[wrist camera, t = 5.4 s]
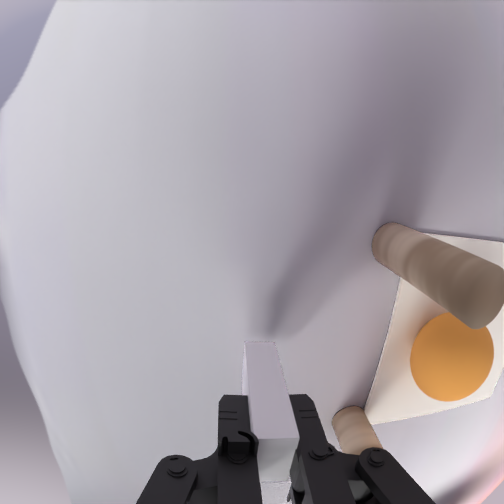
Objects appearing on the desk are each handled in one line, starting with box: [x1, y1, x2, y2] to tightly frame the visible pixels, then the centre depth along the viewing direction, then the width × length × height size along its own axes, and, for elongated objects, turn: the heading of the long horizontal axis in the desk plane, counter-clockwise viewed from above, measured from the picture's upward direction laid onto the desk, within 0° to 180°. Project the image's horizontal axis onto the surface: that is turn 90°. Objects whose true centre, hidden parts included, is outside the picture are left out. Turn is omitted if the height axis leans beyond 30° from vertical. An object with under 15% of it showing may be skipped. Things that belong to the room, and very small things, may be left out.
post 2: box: [372, 223, 504, 329], centre depth 13 cm, size 2×2×8 cm
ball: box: [410, 312, 494, 402], centre depth 16 cm, size 6×6×6 cm
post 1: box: [332, 406, 383, 455], centre depth 16 cm, size 2×2×8 cm
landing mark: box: [363, 233, 504, 425], centre depth 19 cm, size 14×14×1 cm
